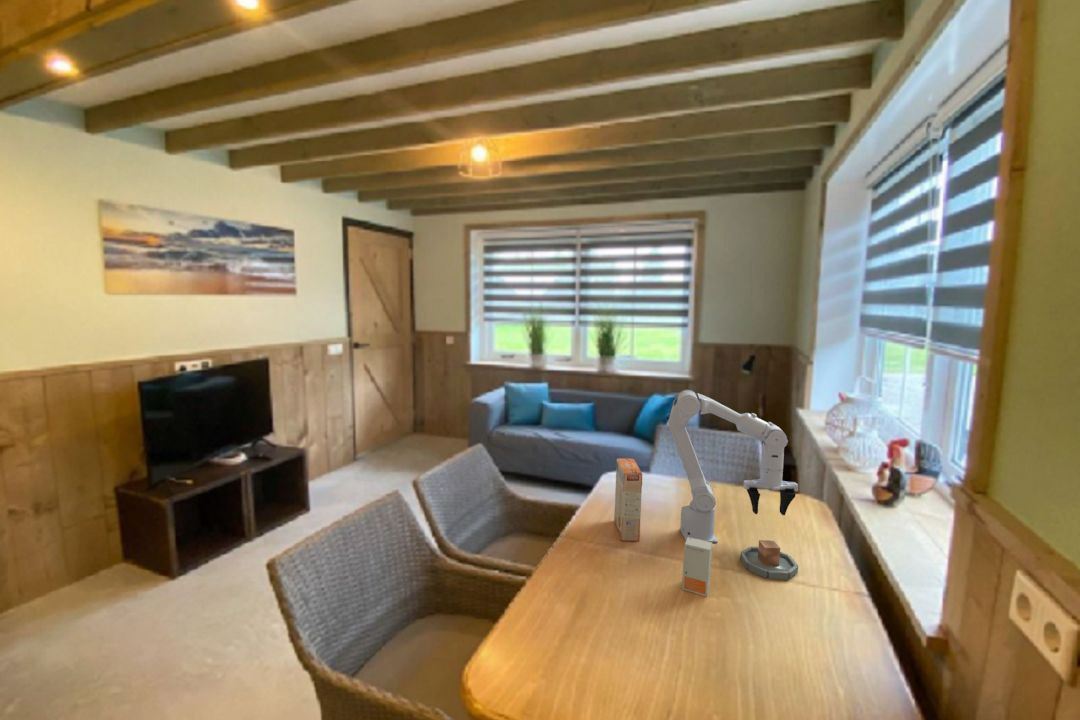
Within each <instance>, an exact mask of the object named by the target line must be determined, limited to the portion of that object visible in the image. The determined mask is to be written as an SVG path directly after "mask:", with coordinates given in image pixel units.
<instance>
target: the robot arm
mask: <svg viewBox="0 0 1080 720" xmlns="http://www.w3.org/2000/svg"><path fill="white" fill-rule="evenodd" d="M670 411H671V412H670V414H669V418H668V423H667V424H668V429H669V431H670V433H671V436H672V439H673V442H674V444H675V447H676V450H677V452H678V455H679V458H680V460H681V463H682V466H683V468H684V472H685V474H686V476H687V479H688V483H689V486H690V492H691V496H692V500H691V502H690V503H689V505H685V506H681V510H680V525H679V526H680V527H679V530H680V532H681V534H682V536H683V539H684V540H685V542H686V540H687V537H690V538H694V539H700V540H703V541H707V542H711V543H718V542H719V540H718V539H717V537H716V535H715V518H716V517H715V516H716V515H715V514H716V503H717V502H716V498H715V496H714V492H713V487H712V485H711V484H710V483H709V482H708V481H707V480H706V478H705V475H704V473H703V470H702V467H701V465H700V462H699V460H698V459H699V458H698V457H697V454H696V451H695V448H694V446H693V444H692V441H691V437H690V435H689V433H688V430H687V428H686V427H687V425H688V424H689V422H690V420H691V419H693V417H695V416H696V415H697V414H698V413H699V414H700V415H706V414H712V415H715V416H717V417H719V418H721V419H723V420H726V421H727V422H730V423H732V424H734V425H735V426H736V430H737V431H739V432H741V433H742V434H745V435H747V436H749V437H751V438H753V439H755V440H757V441H759V442H762V449H761V457H760V458H761V459H760V473H759V475H760V476H759V479H750V480H749V479H748V480H746V479H745V480H743V484H742V486H743V488H744V489H745V490H746V491H747V495H748V496H749V499H750V504H751V508H752V509H751V510H752V513H754V514H755V515H758V513H759V500H760V497H761V493H760V492H759V490H772V491H779V497H780V499H779V500H780V501H779V513H780V514H781V515H782V516H786V514H787V511H788V509H789V507H790V504H791V503H792V501H793V500H794V499H795V498H796V492H799V484H798V483H796V482H795V481H785V480H783V475H784V474H783V472H784V458H785V454H784V453H785V447H786V446H787V445H788V442H789V440H788V436H787V435H786V433H785V432H784V431H783V429H781V428H780V426H777V425H776V424H774V423H773V422H771V421H768V422H767V421H765V420H763V419H761V418H759V417H758V416H757V414H756V413H753V412H751V413H749V412H745V413H739V412H737V411H735V410H733V409H731V408H729V407H728V406H726V405H723V404H721V403H720V402H718V401H716V400H715V399H713V398H710V397H708V396H706V395H703V394H702V393H701V394H700V393H696V392H694V390H690V389H684V390H681V391H680V392H678V394H677V395H676V397H675V398H674V400H673V402H672V407H671V410H670Z"/></svg>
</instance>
